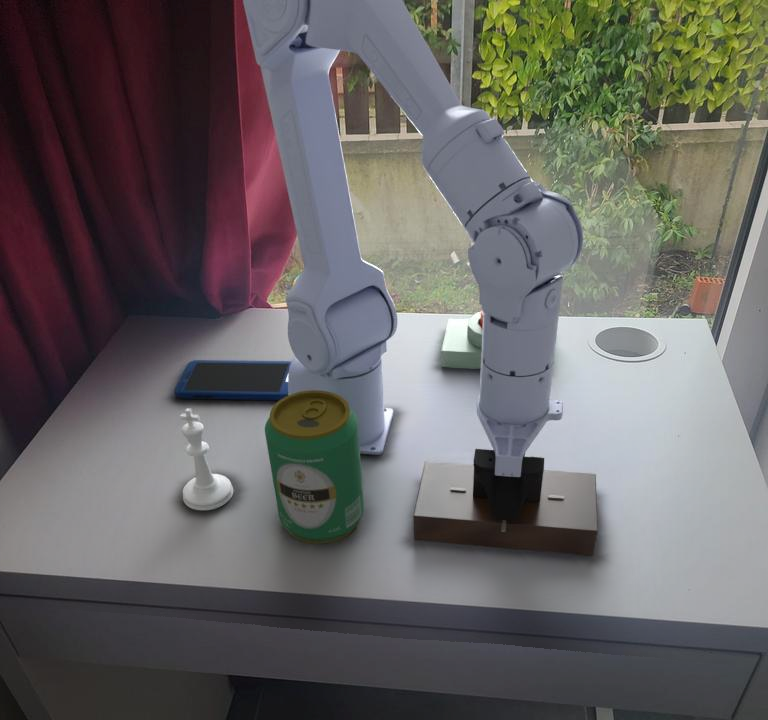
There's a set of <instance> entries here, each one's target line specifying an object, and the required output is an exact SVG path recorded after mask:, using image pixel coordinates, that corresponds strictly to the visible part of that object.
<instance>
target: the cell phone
mask: <svg viewBox="0 0 768 720" xmlns="http://www.w3.org/2000/svg"><path fill="white" fill-rule="evenodd" d="M291 361H292V360H224V359H223V360H218V359H217V360H213V359H207V360H206V359H205V360H204V359H195V360H191V361H189V362H188V363H187V364H186V366H185V368H184V371H183V372H182V374H181V376H180V378H179V380H178V382H177V384H176V386H175V387H174V391H173V392H174V396H175V397H176V398H179V399H182V400H183V399H186V400H187V399H191V400H193V399H194V400H248V401H249V400H253V401H254V400H255V401H279V400H281V399H282V398H284V397H286V396H288V376H289V369H290V364H291Z"/></svg>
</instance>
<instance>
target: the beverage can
mask: <svg viewBox="0 0 768 720" xmlns="http://www.w3.org/2000/svg"><path fill="white" fill-rule="evenodd" d="M264 434H265V441H266V446H267V453H268V459H269V464H270V471H271V477H272V482H273V489H274V495H275V500H276V507H277V513H278V518H279V521H280V523H281V525H282V526H283V527H284V528H285V529H286V531H288V533H289V534H290V535H291V536H292V537H294V538H295V539H297V540H299V541H301V542H305V543H309V544H317V545H318V544H328V543H333V542H337V541H339V540H342V539H344V538H345V537H347V536H348V535H350V534H351V533H352V532H353V531H354V530H355V529H356V528H357V527H358V525H359V522H360V521H361V519H362V517H363V516H364V515H363V514H364V510H365V503H364V502H365V501H364V491H363V489H364V488H363V476H362V475H363V473H362V460H361V454H360V446H359V432H358V421H357V417H356V415H355V413H354V412H353V411H352V410H351V409H350V408H349V405H348V403H347V402H346V400H345V399H343V398H342V397H341V396H339V395H337V394H334V393H331V392H327V391H319V390H309V391H302V392H297V393H294V394H291V395H288V396H286V397H284V398H282V399H281V400H277V402H276V403H275V404H274V405H273V406H272V407H271V408H270V412H269V417H268V418H267V421H266V422H265V425H264Z"/></svg>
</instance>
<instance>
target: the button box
mask: <svg viewBox="0 0 768 720" xmlns="http://www.w3.org/2000/svg"><path fill="white" fill-rule="evenodd" d="M480 323H481V311H478V312H475V313H474V314H472V315H471V316H470V317H468V318H455V317H454V318H453V317H452V318H451V317H449V318H448V319H447V324H446V329H445V332H444V337H443V341H442V346H441V350H440V367H441V368H454V369H472V370H473V369H474V370H475V369H476V370H481V353H482V331H483V329H482V328H481V326H480Z"/></svg>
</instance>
